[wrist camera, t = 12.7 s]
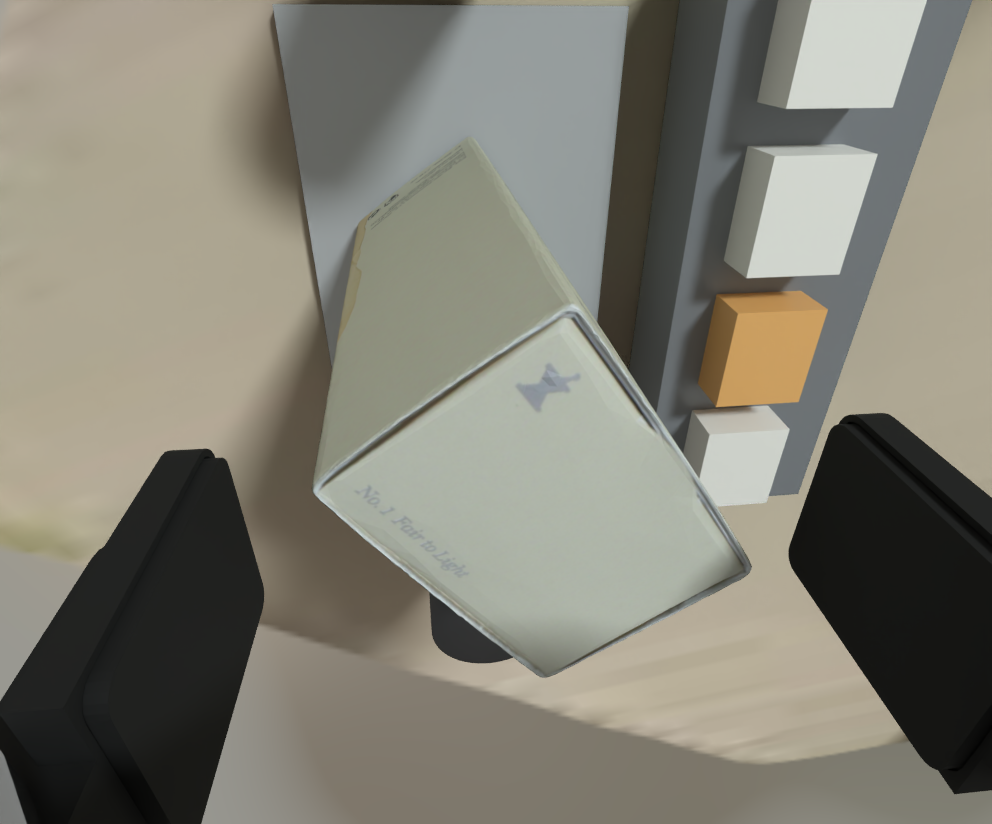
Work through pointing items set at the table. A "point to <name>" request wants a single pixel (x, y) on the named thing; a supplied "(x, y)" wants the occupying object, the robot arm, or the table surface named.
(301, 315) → the table surface
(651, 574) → the skincare box
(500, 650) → the dark grey capsule
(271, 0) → the table surface
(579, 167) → the grey button panel
